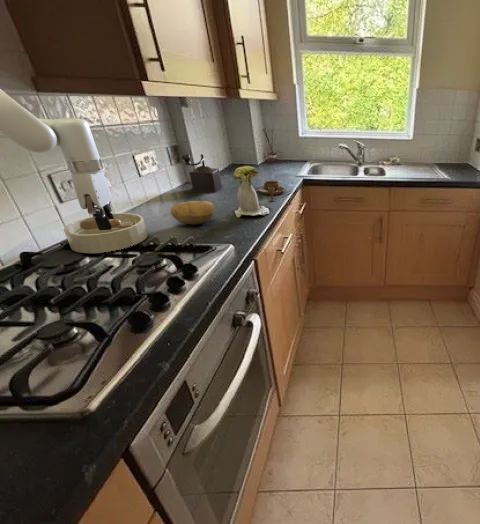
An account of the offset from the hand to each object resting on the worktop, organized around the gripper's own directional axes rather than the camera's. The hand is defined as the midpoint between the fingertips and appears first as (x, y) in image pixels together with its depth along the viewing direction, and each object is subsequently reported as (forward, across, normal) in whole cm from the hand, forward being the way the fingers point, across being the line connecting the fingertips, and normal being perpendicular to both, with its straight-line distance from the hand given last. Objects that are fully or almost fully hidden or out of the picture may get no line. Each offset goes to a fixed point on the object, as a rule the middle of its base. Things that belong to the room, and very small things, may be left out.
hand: (107, 227), depth 101 cm
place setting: (+5, -47, +48) cm, 67 cm away
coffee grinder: (+5, -58, +19) cm, 61 cm away
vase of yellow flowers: (+5, -20, +41) cm, 46 cm away
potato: (+5, -12, +22) cm, 25 cm away
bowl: (+5, 0, 0) cm, 5 cm away
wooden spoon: (0, 0, 0) cm, 0 cm away
